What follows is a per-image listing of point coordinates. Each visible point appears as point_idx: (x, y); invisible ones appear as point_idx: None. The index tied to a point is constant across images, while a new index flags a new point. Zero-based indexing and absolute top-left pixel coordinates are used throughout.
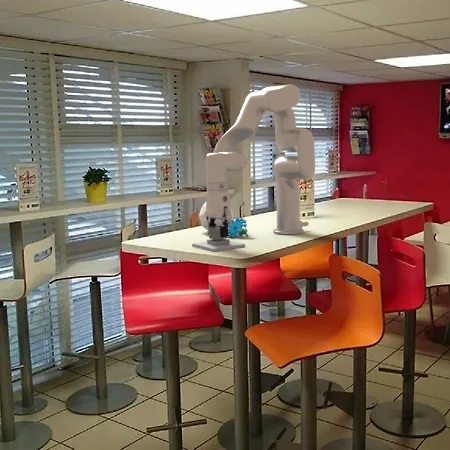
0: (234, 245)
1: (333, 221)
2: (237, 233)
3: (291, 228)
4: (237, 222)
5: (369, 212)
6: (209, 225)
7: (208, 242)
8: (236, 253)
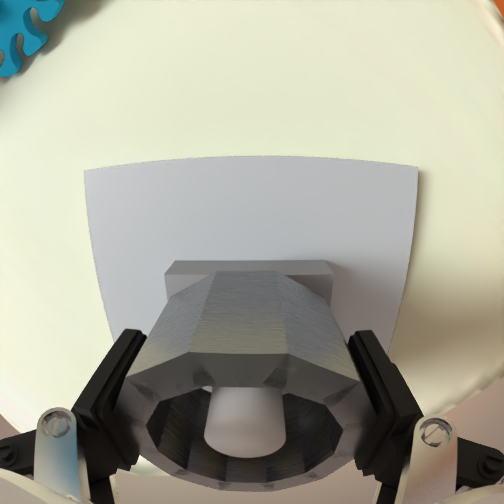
0: (403, 271)
1: None
2: (44, 14)
3: None
4: None
5: None
6: (130, 460)
7: None
8: (476, 333)
